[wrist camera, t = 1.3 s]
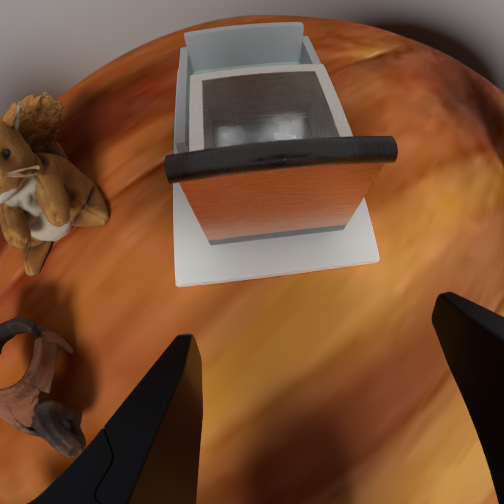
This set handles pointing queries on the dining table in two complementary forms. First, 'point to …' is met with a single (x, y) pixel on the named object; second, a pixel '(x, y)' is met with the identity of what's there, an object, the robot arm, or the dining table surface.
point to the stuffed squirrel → (41, 182)
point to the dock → (184, 220)
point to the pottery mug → (28, 390)
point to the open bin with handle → (273, 154)
